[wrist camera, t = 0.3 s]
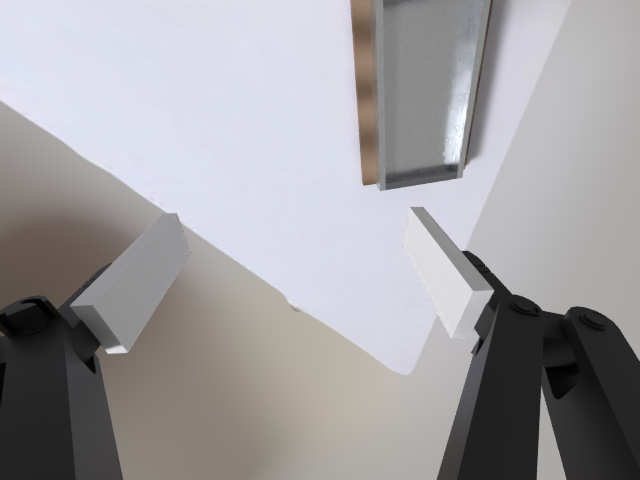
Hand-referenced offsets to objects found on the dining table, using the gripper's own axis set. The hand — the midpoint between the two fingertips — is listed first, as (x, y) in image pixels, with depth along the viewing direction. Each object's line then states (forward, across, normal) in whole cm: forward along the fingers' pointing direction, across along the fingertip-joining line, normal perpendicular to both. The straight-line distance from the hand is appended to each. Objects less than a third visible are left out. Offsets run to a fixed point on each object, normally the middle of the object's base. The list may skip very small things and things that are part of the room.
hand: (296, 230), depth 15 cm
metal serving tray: (+27, +16, +4) cm, 31 cm away
